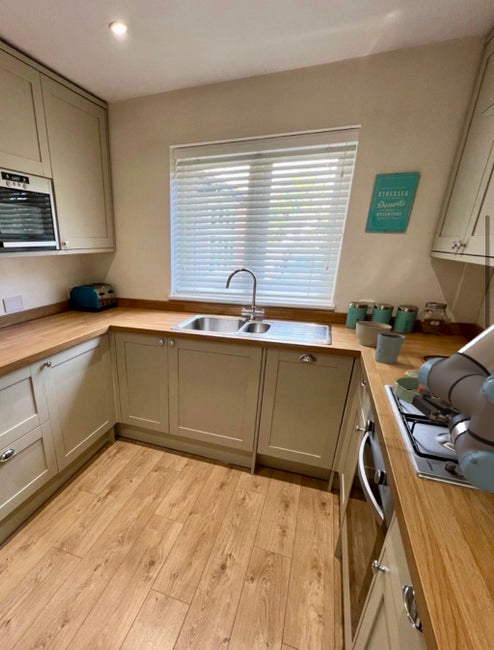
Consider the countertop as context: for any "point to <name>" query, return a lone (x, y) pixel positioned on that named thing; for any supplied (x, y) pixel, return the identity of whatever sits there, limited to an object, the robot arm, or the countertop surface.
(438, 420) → the dark brown bar
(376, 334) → the planter bowl
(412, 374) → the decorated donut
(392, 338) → the blue grey cup
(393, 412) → the countertop surface
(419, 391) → the block
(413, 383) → the bowl
